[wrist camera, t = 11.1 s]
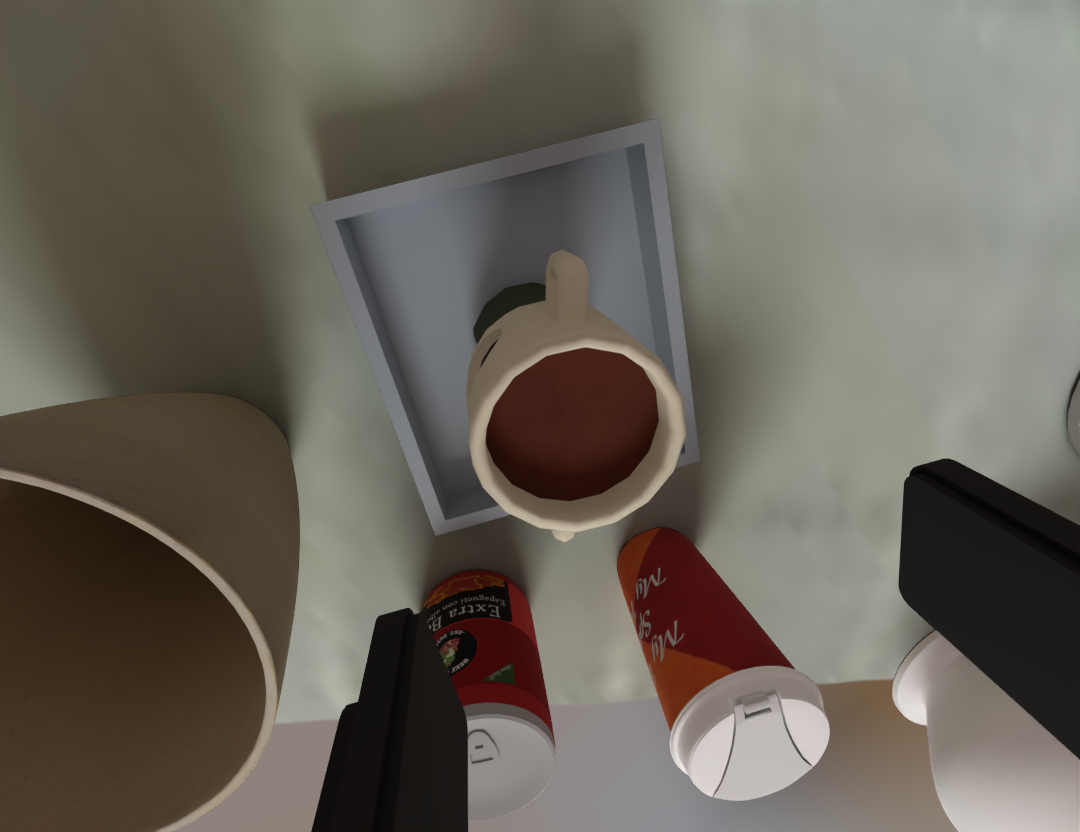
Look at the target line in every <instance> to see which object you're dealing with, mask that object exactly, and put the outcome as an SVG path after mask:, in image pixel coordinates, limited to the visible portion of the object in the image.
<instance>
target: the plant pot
mask: <svg viewBox="0 0 1080 832" xmlns="http://www.w3.org/2000/svg"><path fill="white" fill-rule="evenodd" d="M299 549H300V520H299V502H298V492H297V484H296V477H295V472H294V466H293V462H292V458H291V454H290V450H289V447H288V444H287V442H286V439H285V437H284V435H283V433H282V432H281V430H280V429H279V427H278V426H277V425H276V424H275V422H274V421H273V420H272V419H271V418H270V417H268V416H267V415H266V414H265V413H264V412H262V411H261V410H260V409H258V408H257V407H255V406H253V405H251V404H249V403H247V402H245V401H243V400H240V399H238V398H235V397H231V396H227V395H221V394H212V393H184V392H182V393H150V394H137V395H125V396H117V397H109V398H101V399H93V400H86V401H80V402H74V403H68V404H62V405H56V406H50V407H45V408H40V409H35V410H30V411H24V412H19V413H14V414H9V415H5V416H0V832H173V831H175V830H177V829H179V828H181V827H183V826H185V825H187V824H189V823H191V822H193V821H195V820H196V819H198V818H199V817H201V816H202V815H203V814H205V813H206V812H208V811H209V810H211V809H212V808H214V807H215V806H217V805H218V804H219V803H220V802H222V801H223V800H224V799H225V798H226V797H228V796H229V795H230V794H231V793H232V792H233V791H234V790H235V789H236V788H237V787H239V786H240V785H241V784H242V783H243V781H244V780H245V779H246V777H247V776H248V775H249V774H250V772H251V771H252V769H253V768H254V767H255V765H256V764H257V763H258V761H259V759H260V758H261V756H262V754H263V752H264V750H265V748H266V746H267V744H268V742H269V739H270V736H271V733H272V730H273V726H274V722H275V718H276V714H277V709H278V704H279V699H280V694H281V689H282V684H283V679H284V673H285V667H286V661H287V655H288V649H289V643H290V637H291V631H292V625H293V618H294V610H295V602H296V594H297V584H298V572H299Z"/></svg>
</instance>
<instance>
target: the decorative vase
mask: <svg viewBox="0 0 1080 832" xmlns="http://www.w3.org/2000/svg"><path fill="white" fill-rule="evenodd" d="M892 694H893V700H894V702H895V705H896V706H897V708H898V709H899V710H900V711H901V713H902V714H903V715H904V716H905V717H906V718H907V719H909V720H911V721H913V722H915V723H918V724H922V725H927V729H928V743H929V753H930V761H931V768H932V773H933V779H934V783H935V787H936V791H937V794H938V797H939V800H940V802H941V804H942V806H943V809H944V811H945V812H946V814H947V816H948V818H949V819H950V821H951V822H952V824H953V825H954V826H955V828H956V829H957V830H958V832H1080V760H1079V759H1078V758H1077V757H1076V756H1075V755H1074V754H1073V753H1072V752H1071V751H1069V750H1068V749H1067V748H1066V747H1065V746H1064V745H1063V744H1062V743H1061V742H1059V741H1058V740H1057V739H1056V738H1055V737H1054V736H1053V735H1052V734H1051V733H1050V732H1048V731H1047V730H1046V729H1045V728H1044V727H1043V726H1042V725H1041V724H1040V723H1038V722H1037V721H1036V720H1035V719H1034V718H1033V717H1032V716H1031V715H1030V714H1028V713H1027V712H1026V711H1025V710H1024V709H1023V708H1022V707H1021V706H1020V705H1019V704H1017V703H1016V702H1015V701H1014V700H1013V699H1012V698H1011V697H1010V696H1009V695H1007V694H1006V693H1005V692H1004V691H1003V690H1002V689H1001V688H1000V687H999V686H997V685H996V684H995V683H994V682H993V681H992V680H991V679H990V678H989V677H988V676H986V675H985V674H984V673H983V672H982V671H981V670H980V669H979V668H978V667H976V666H975V665H974V664H973V663H972V662H971V661H970V660H969V659H968V658H966V657H965V656H964V655H963V654H962V653H961V652H960V651H959V650H958V649H957V648H955V647H954V646H953V645H952V644H951V643H950V642H949V641H948V640H947V639H945V638H944V637H943V636H942V635H941V634H940V633H939V632H938V631H937V630H936V631H934V632H933V633H931V634H930V635H928V636H927V637H926V638H925V639H923V640H922V641H921V642H920V643H919V644H918V645H917V646H916V647H915V648H914V649H913V650H912V651H911V652H910V653H909V654H908V655H907V657H906V658H905V659H904V661H903V662H902V664H901V666H900V667H899V669H898V671H897V673H896V676H895V679H894V682H893V689H892Z"/></svg>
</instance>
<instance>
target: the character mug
mask: <svg viewBox="0 0 1080 832" xmlns="http://www.w3.org/2000/svg"><path fill="white" fill-rule="evenodd" d="M588 291H589V274H588V270H587V267H586V264H585V262H584V260H583V259H581V258H579V257H577V256H575V255H573V254H571V253H569V252H567V251H564V250H562V249H561V250H559V251H557V252H555V253H552V254H551V256H550V258H549V261H548V263H547V267H546V285H544V284H540V283H535V282H531V283H526V284H521V285H516V286H511V287H507V288H505V289H503V290H502V291H501V292H500V293H499V294H497V295H496V296H495V297H494V298H492V299H491V300H490V301H489V302H488V303H486V304H485V305H484V307H483V309H482V311H481V313H480V315H479V317H478V319H477V321H476V323H475V325H474V328H473V333H474V337H475V340H476V342H477V346H476V347H475V349H474V350H473V352H472V355H471V361H470V365H469V368H468V372H467V388H466V396H467V414H468V430H469V446H470V452H471V457H472V463H473V466H474V469H475V471H476V473H477V475H478V478H479V480H480V482H481V485H482V487H483V488H484V489H485V490H486V491H487V492H488V493H489V495H490V496H491V497H492V498H493V499H494V500H495V501H496V502H497V503H498V504H499V505H500V506H501V507H502V508H503V509H504V510H505V511H506V512H507V513H509V514H511V515H513V516H516V517H518V518H520V519H522V520H524V521H526V522H528V523H530V524H532V525H534V526H536V527H538V528H545V529H551V530H552V532H553V534H554V536H555V538H556V539H558V540H560V541H563V542H567V541H568V540H570V539H571V538H573V537H574V533H575V532H579V531H583V530H587V529H592V528H596V527H600V526H604V525H608V524H612V523H615V522H617V521H619V520H620V519H622V518H623V517H625V516H627V515H628V514H630V513H631V512H633V511H635V510H636V509H638V508H639V507H641V506H643V505H644V504H646V503H647V502H649V501H650V499H651V498H652V497H653V496H654V495H655V493H656V492H657V491H658V490H659V489H660V487H661V486H662V485H663V484H664V482H665V481H666V480H667V479H668V478H669V476H670V475H671V474H672V473H673V472H674V469H675V466H676V463H677V460H678V457H679V454H680V452H681V449H682V446H683V443H684V440H685V437H686V427H685V415H684V403H683V397H682V395H681V393H680V391H679V390H678V388H677V386H676V385H675V383H674V381H673V379H672V378H671V376H670V374H669V373H668V371H667V369H666V367H665V366H664V364H663V363H662V361H661V360H660V359H659V358H658V357H657V356H656V355H654V354H653V353H652V352H651V351H650V350H648V349H647V348H646V347H645V346H643V345H642V344H641V343H640V342H639V341H637V340H636V339H635V338H634V337H632V336H631V335H630V334H629V333H628V332H626V331H625V330H624V329H623V328H621V327H620V326H619V325H618V324H616V323H615V322H614V321H612V320H611V319H609V318H608V317H606V316H605V315H604V314H602V313H601V312H599V311H598V310H596V309H595V308H594V307H592V306H591V305H589V304H588Z"/></svg>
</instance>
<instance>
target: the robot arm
mask: <svg viewBox="0 0 1080 832" xmlns="http://www.w3.org/2000/svg"><path fill="white" fill-rule="evenodd" d="M1068 432H1069V437H1070V441H1071V443H1072V445H1073V447H1074V449H1075V450H1076V452H1077V453H1078V454H1079V455H1080V379H1079V381H1078V383H1077V386H1076V388H1075V391H1074V393H1073V395H1072V399H1071V403H1070V407H1069V411H1068ZM899 590H900V593H901V595H902V597H903V599H904V600H905V602H906V603H907V604H908V605H909V606H910V607H911V608H912V609H913V610H914V611H916V612H917V613H918V614H919V615H920V616H921V617H922V618H923V619H924V620H926V621H927V622H928V623H929V624H930V625H931V626H932V627H933V628H934V629H935V630H937V631H938V632H939V633H940V634H941V635H942V636H943V637H944V638H945V639H947V640H948V641H949V642H950V643H951V644H952V645H953V646H954V647H955V648H957V649H958V650H959V651H960V652H961V653H962V654H963V655H964V656H965V657H966V658H968V659H969V660H970V661H971V662H972V663H973V664H974V665H975V666H976V667H978V668H979V669H980V670H981V671H982V672H983V673H984V674H985V675H986V676H988V677H989V678H990V679H991V680H992V681H993V682H994V683H995V684H996V685H997V686H999V687H1000V688H1001V689H1002V690H1003V691H1004V692H1005V693H1006V694H1007V695H1009V696H1010V697H1011V698H1012V699H1013V700H1014V701H1015V702H1016V703H1017V704H1019V705H1020V706H1021V707H1022V708H1023V709H1024V710H1025V711H1026V712H1027V713H1028V714H1030V715H1031V716H1032V717H1033V718H1034V719H1035V720H1036V721H1037V722H1038V723H1040V724H1041V725H1042V726H1043V727H1044V728H1045V729H1046V730H1047V731H1048V732H1050V733H1051V734H1052V735H1053V736H1054V737H1055V738H1056V739H1057V740H1058V741H1059V742H1061V743H1062V744H1063V745H1064V746H1065V747H1066V748H1067V749H1068V750H1069V751H1071V752H1072V753H1073V754H1074V755H1075V756H1076V757H1077V758H1078V759H1079V760H1080V526H1079V525H1077V524H1076V523H1074V522H1072V521H1070V520H1068V519H1066V518H1064V517H1062V516H1060V515H1058V514H1056V513H1054V512H1053V511H1051V510H1049V509H1047V508H1045V507H1043V506H1041V505H1039V504H1037V503H1035V502H1033V501H1031V500H1029V499H1028V498H1026V497H1024V496H1022V495H1020V494H1018V493H1016V492H1014V491H1012V490H1010V489H1008V488H1006V487H1005V486H1003V485H1001V484H999V483H997V482H995V481H993V480H991V479H989V478H987V477H985V476H983V475H982V474H980V473H978V472H976V471H974V470H972V469H970V468H968V467H966V466H964V465H962V464H960V463H958V462H957V461H954V460H951V459H941V460H937V461H934V462H930V463H927V464H923V465H919V466H916V467H914V468H913V469H912V470H911V472H910V475H909V477H907V478H906V480H905V482H904V493H903V512H902V530H901V549H900V567H899ZM311 832H468V726H467V719H466V715H465V711H464V708H463V706H462V704H461V701H460V699H459V696H458V694H457V692H456V689H455V687H454V685H453V682H452V680H451V678H450V675H449V673H448V670H447V668H446V666H445V663H444V661H443V659H442V656H441V654H440V651H439V649H438V647H437V644H436V642H435V640H434V637H433V635H432V633H431V630H430V628H429V625H428V623H427V621H426V618H425V616H424V615H423V614H422V613H418V614H415V615H414V613H413V611H412V610H411V609H410V608H405V609H402V610H398V611H395V612H391V613H388V614H384V615H380V616H379V617H378V618H377V620H376V622H375V627H374V631H373V636H372V640H371V645H370V650H369V654H368V659H367V663H366V668H365V672H364V677H363V681H362V686H361V691H360V695H359V700H358V702H356V703H352V704H349V705H347V706H346V707H345V708H344V710H343V711H342V713H341V716H340V719H339V723H338V727H337V731H336V735H335V739H334V743H333V747H332V751H331V755H330V759H329V763H328V767H327V771H326V775H325V779H324V783H323V787H322V791H321V795H320V799H319V803H318V808H317V811H316V815H315V819H314V823H313V827H312V831H311Z"/></svg>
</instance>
